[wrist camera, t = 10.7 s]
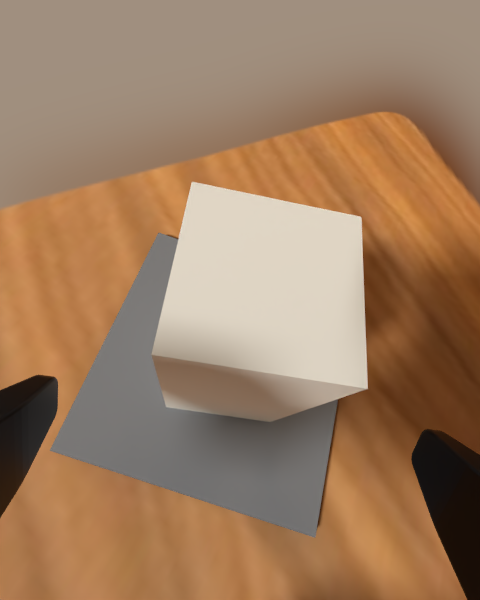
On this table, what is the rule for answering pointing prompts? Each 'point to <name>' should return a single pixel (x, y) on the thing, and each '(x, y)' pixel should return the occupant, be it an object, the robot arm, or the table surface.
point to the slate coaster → (191, 425)
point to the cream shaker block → (261, 308)
